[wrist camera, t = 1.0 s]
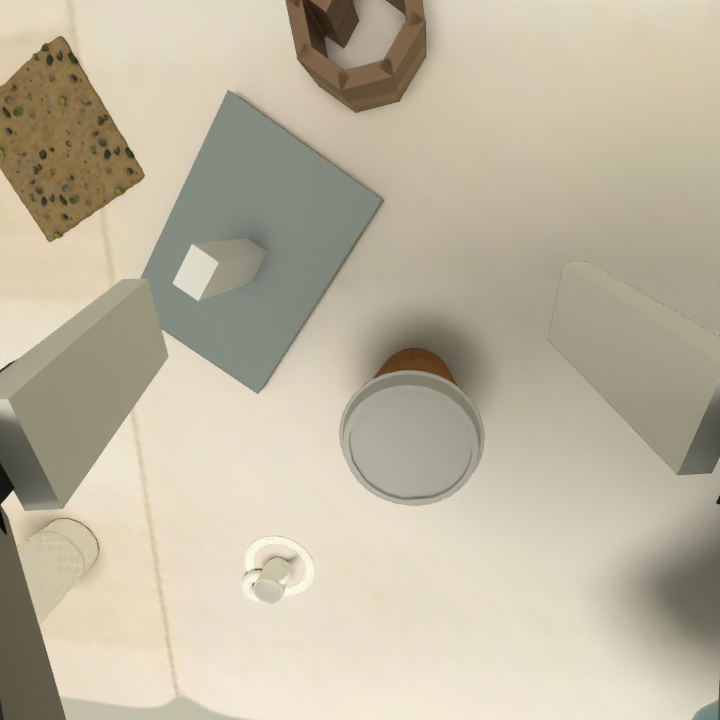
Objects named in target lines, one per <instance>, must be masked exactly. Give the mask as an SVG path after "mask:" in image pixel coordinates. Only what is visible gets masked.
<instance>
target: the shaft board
mask: <svg viewBox="0 0 720 720" xmlns="http://www.w3.org/2000/svg"><path fill="white" fill-rule="evenodd" d="M382 202H383V200H382V199H381V198H379V197H378V196H376V195H375V194H374V193H372V192H371V191H369V190H368V189H367V188H365V187H364V186H362V185H361V184H360V183H358V182H357V181H355V180H354V179H353V178H351V177H350V176H349V175H347V174H346V173H344V172H343V171H342V170H340V169H339V168H337V167H336V166H335V165H333V164H332V163H330V162H329V161H328V160H326V159H325V158H323V157H322V156H321V155H319V154H318V153H316V152H315V151H314V150H312V149H311V148H309V147H308V146H307V145H305V144H304V143H302V142H301V141H300V140H298V139H297V138H295V137H294V136H293V135H291V134H290V133H288V132H287V131H286V130H284V129H283V128H281V127H280V126H279V125H277V124H276V123H274V122H273V121H272V120H270V119H269V118H267V117H266V116H265V115H263V114H262V113H260V112H259V111H258V110H256V109H255V108H254V107H252V106H251V105H249V104H248V103H247V102H245V101H244V100H242V99H241V98H240V97H238V96H237V95H235V94H234V93H232V92H231V91H229V90H228V91H227V93H226V95H225V97H224V100H223V102H222V104H221V106H220V108H219V110H218V112H217V115H216V117H215V119H214V121H213V123H212V125H211V128H210V130H209V132H208V134H207V136H206V138H205V140H204V143H203V145H202V147H201V149H200V151H199V153H198V156H197V158H196V160H195V162H194V164H193V166H192V168H191V171H190V173H189V175H188V177H187V179H186V181H185V184H184V186H183V188H182V190H181V192H180V194H179V196H178V199H177V201H176V203H175V205H174V207H173V209H172V212H171V214H170V216H169V218H168V220H167V222H166V224H165V227H164V229H163V231H162V233H161V235H160V237H159V240H158V242H157V244H156V246H155V248H154V250H153V252H152V255H151V257H150V259H149V261H148V263H147V265H146V268H145V270H144V272H143V274H142V276H141V278H140V279H147V278H148V282H149V286H150V290H151V293H152V297H153V301H154V304H155V308H156V312H157V315H158V319H159V323H160V327H161V329H162V330H164V331H165V332H167V333H168V334H170V335H171V336H173V337H174V338H176V339H177V340H178V341H180V342H181V343H183V344H184V345H186V346H187V347H189V348H190V349H192V350H193V351H195V352H196V353H198V354H199V355H201V356H202V357H204V358H205V359H207V360H208V361H210V362H211V363H213V364H214V365H216V366H217V367H219V368H220V369H222V370H223V371H224V372H226V373H227V374H229V375H230V376H232V377H233V378H235V379H236V380H238V381H239V382H241V383H242V384H244V385H245V386H247V387H248V388H250V389H251V390H253V391H254V392H256V393H257V394H258V393H259V392H260V391H261V390H262V389H263V388H264V387H265V385H266V383H267V382H268V380H269V379H270V377H271V376H272V374H273V373H274V371H275V369H276V368H277V366H278V365H279V363H280V362H281V360H282V358H283V357H284V355H285V354H286V352H287V351H288V349H289V348H290V346H291V344H292V343H293V341H294V340H295V338H296V337H297V335H298V334H299V332H300V330H301V329H302V327H303V326H304V324H305V323H306V321H307V319H308V318H309V316H310V315H311V313H312V312H313V310H314V309H315V307H316V305H317V304H318V302H319V301H320V299H321V298H322V296H323V294H324V293H325V291H326V290H327V288H328V287H329V285H330V284H331V282H332V280H333V279H334V277H335V276H336V274H337V273H338V271H339V269H340V268H341V266H342V265H343V263H344V262H345V260H346V259H347V257H348V255H349V254H350V252H351V251H352V249H353V248H354V246H355V245H356V243H357V241H358V240H359V238H360V237H361V235H362V234H363V232H364V230H365V229H366V227H367V226H368V224H369V223H370V221H371V220H372V218H373V216H374V215H375V213H376V212H377V210H378V209H379V207H380V205H381V204H382Z"/></svg>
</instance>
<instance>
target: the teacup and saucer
mask: <svg viewBox="0 0 720 720" xmlns="http://www.w3.org/2000/svg"><path fill="white" fill-rule="evenodd" d="M268 544H282V545H286V546H288V547H290V548H292V549H294V550H295V551H296V552H297V553H298V554H299V555H300V556H301V557H302V559H303V560H304V562H305V566H306V574H305V577H304V579H303V580H302V582H301V583H299V584H298V585H296V586H294V587H290V588H286V584H287V582H288V581H289V580H290V579H291V577H292V574H293V568H292V566H291V565H290V564H289V563H288V562H287V561H286V560H284V559H283V558H279V557H275V558H273V559H271V560H270V561H269V562H268V563H267V564H266V565H265V567H264V568H263V570H255V567H254V556H255V554H256V552H257V551H258V550H259V549H260V548H261V547H263V546H265V545H268ZM245 567H246V570H247V574H246V575H245V576H244V577H243V579H242V582H241V591H242V593H243V595H244V596H245V597H246V598H247V599H249V600H250V601H253V602H263V603H266V604H276V603H278V602H279V601H280V600H281V599H282V597H283V596H292V595H297V594H299V593H302V592H303V591H305V590H306V589H308V588H309V587H310V585H311V584H312V582H313V580H314V577H315V566H314V562H313V560H312V558H311V556H310V555H309V553H308V552H307V551H306V550H305V549H304V548H303V547H302V546H301V545H299V544H298V543H296V542H295V541H293V540H290V539H288V538H285V537H280V536H267V537H262V538H260V539H258V540H256V541H254V542H253V543H252V544H251V545H250V546H249V547H248V549H247V551H246V554H245ZM253 583H255V584H254V587H252V584H253Z"/></svg>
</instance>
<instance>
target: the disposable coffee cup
mask: <svg viewBox="0 0 720 720" xmlns="http://www.w3.org/2000/svg"><path fill="white" fill-rule="evenodd" d="M339 434H340V445H341V448H342V451H343V455H344V457H345V459H346V461H347V463H348V465H349V468H350V470H351V472H352V473H353V475H354V476H355V477H356V479H357V480H358V481H359V482H360V483H361V484H362V485H363V486H364V487H365V488H366V489H367V490H368V491H370V492H371V493H373V494H375V495H376V496H378V497H380V498H382V499H384V500H387V501H390V502H393V503H396V504H402V505H411V506H418V505H427V504H431V503H435V502H438V501H441V500H443V499H445V498H447V497H449V496H451V495H452V494H454V493H455V492H456V491H458V490H459V489H460V488H461V487H462V486H463V485H464V484H465V483H466V482H467V481H468V479H469V478H470V476H471V475H472V473H473V472H474V471H475V469H476V467H477V465H478V463H479V462H480V459H481V456H482V452H483V448H484V429H483V424H482V421H481V418H480V415H479V413H478V411H477V409H476V407H475V405H474V403H473V402H472V401H471V400H470V398H469V397H468V396H467V395H466V394H465V393H464V392H463V391H462V390H461V389H460V388H459V387H458V386H457V384H456V383H455V381H454V379H453V377H452V376H451V374H450V372H449V371H448V369H447V367H446V365H445V364H444V362H443V361H442V360H441V359H440V358H439V357H438V356H436V355H435V354H433V353H431V352H429V351H426V350H422V349H413V348H412V349H407V350H403V351H400V352H398V353H396V354H394V355H393V356H391V357H390V359H389V360H388V361H387V362H386V363H385V364H384V366H383V367H382V368H381V369H380V371H379V372H378V373H377V374H376V376H375V377H374V378H373V379H372V380H371V381H369V382H367V383H365V384H364V385H363V386H362V387H361V388H360V389H359V390H358V391H357V392H356V393H355V394H354V395H353V396H352V398H351V399H350V401H349V402H348V404H347V405H346V407H345V410H344V412H343V415H342V418H341V422H340V431H339Z"/></svg>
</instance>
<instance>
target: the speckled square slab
mask: <svg viewBox="0 0 720 720" xmlns="http://www.w3.org/2000/svg"><path fill="white" fill-rule="evenodd" d="M0 169H1V170H2V172H3V173H4V175H5V177H6V178H7V179H8V180H9V182H10V183H11V185H12V187H13V189H14V190H15V192H16V193H17V194H18V196H19V197H20V199H21V201H22V203H23V204H24V205H25V206H26V208H27V209H28V210H29V212H30V214H31V215H32V217H33V219H34V220H35V221H36V223H37V224H38V226H39V227H40V229H41V231H42V232H43V233H44V235H45V237H46V239H47V240H48V241H49V242H52V241H53V240H55V239H56V238H60V237H62V236H63V234H64V233H65V232H67V231H69V230H70V229H71V228H74V227H75V226H76V225H78V224H79V223H80V222H81V221H82V220H84V219H85V218H87V217H89V216H91V215H92V214H93V213H94V212H95V211H97V210H98V209H100V208H102V207H104V206H105V205H106V204H108V203H109V202H110V201H112V200H113V199H114V198H116V197H117V196H119V195H121V194H123V193H124V192H125V191H126V190H127V189H129V188H131V187H133V186H134V185H135V184H137V183H139V182H140V181H141V180H142V179H143V178H144V176H145V175H144V173H143V170H142V168H141V167H140V165H139V164H138V162H137V160H136V159H135V157H134V155H133V153H132V152H131V150H130V149H129V147H128V145H127V143H126V141H125V139H124V137H123V136H122V135H121V134H120V132H119V131H118V129H117V127H116V125H115V124H114V122H113V120H112V118H111V116H110V114H109V113H108V111H107V110H106V108H105V107H104V105H103V103H102V101H101V99H100V97H99V96H98V94H97V93H96V92H95V90H94V88H93V87H92V85H91V83H90V82H89V80H88V77H87V75H86V74H85V73H84V71H83V69H82V68H81V66H80V64H79V62H78V60H77V59H76V57H75V56H74V54H73V52H72V51H71V49H70V47H69V45H68V43H67V41H66V40H65V39H64V38H63V37H62V36H59V37H57V38H56V39H54V40H53V41H52V42H50V43H48V44H46V43H45V44H44V45H43V46H42V49H41V50H40V51H39V52H38V53H36V54H33V57H32V58H31V59H30V60H29V61H28V62H26V63H25V64H24V65H23V66H22V67H21V69H19V70H18V71H17V72H16V73H15V74H14V75H13V76H12V77H11V78H10V79H9V80H8V81H7V83H5V84H4V85H2V86H0Z"/></svg>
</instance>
